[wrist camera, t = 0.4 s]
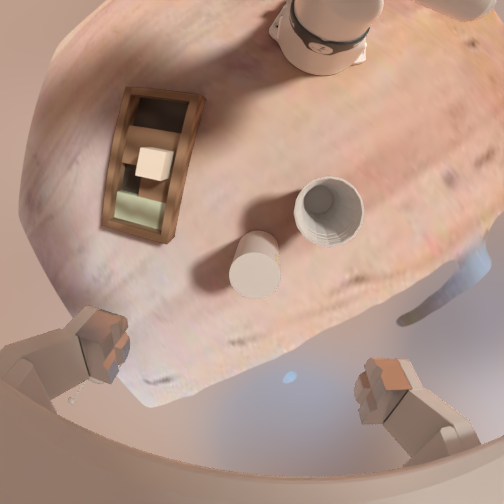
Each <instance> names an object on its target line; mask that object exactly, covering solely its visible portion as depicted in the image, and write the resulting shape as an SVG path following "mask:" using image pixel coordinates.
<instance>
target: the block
mask: <svg viewBox="0 0 504 504" xmlns="http://www.w3.org/2000/svg"><path fill="white" fill-rule="evenodd" d="M175 153H176V152H174V151H169V150H164V149H159V148H153V147H142V148H140V152H139V157H138V162H137V168H136V174H135V175H136V176H140V177H145V178H149V179H154V180H158V181H162V180H165V179H168V178H170V176H171V172H172V167H173V162H174V158H175Z"/></svg>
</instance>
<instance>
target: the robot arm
mask: <svg viewBox="0 0 504 504" xmlns="http://www.w3.org/2000/svg"><path fill="white" fill-rule="evenodd" d="M412 1H414V2H416V3H417V4H420V5H422V6H425V7H427V8H430V9H432V10H434V11H437V12H439V13H441V14H444V15H446V16H448V17H451V18H453V19H455V20H458V21H461V22H468V21H474V20H477V19H480V18H482V17H484V16H486V15H487V14H488V13H489V12H490V11H491V10H492V9H493V7H494V5H495V3H496V1H497V0H412ZM383 6H384V0H286V4H285V5H284V6H283V8H282V10H281V11H280V13H279V14H278V16H277V17H276V19H275V20H274V22H273V23H272V25H271V26H270V28H269V34H270V36H271V37H272V38H273V39H274V40H276V41H277V42H278V44H279V45H280V48H281V50H282V52H283V54H284V56H285V57H286V58H287V59H288V61H289V62H290V63H292V64H293V65H294V66H295V67H297V68H298V69H300V70H302V71H304V72H307V73H310V74H314V75H333V74H336V73H339V72H341V71H343V70H344V69H346V68H347V67H349V66H351V65H357V64H361V63H363V62H364V61H365V59H366V46H367V44H366V36H367V34H368V31H369V29H370V26H371V25H372V24H373V23H374V21H375V20H376V19H377V18H378V17H379V16H380V14H381V13H382V10H383ZM276 26H278V28H276ZM127 328H128V322H127V319H126V318H125V317H124V316H121V315H118V314H114V313H111V312H108V311H105V310H102V309H98V308H96V307H93V306H90V305H89V306H85V307H84V308H83V309H82V310H81V311H80V312H79V313H78V314H77V315H76V316H75V317H74V318H73V319H72V320H71V322H70V323H68V324H67V326H66V327H65V328H64V329H63V330H61V329H56V330H53V331H50V332H47V333H44V334H41V335H37V336H35V337H31V338H28V339H25V340H22V341H18V342H15V343H12V344H9V345H6V346H5V347H4V348H3V349H2V350H1V351H0V504H504V435H503V436H501V437H499V438H497V439H494V440H492V441H490V442H488V443H485V444H483V445H481V443H480V441H479V439H478V437H477V435H476V433H475V430H474V428H473V426H472V424H471V422H470V420H468V419H467V418H466V417H464V416H463V415H461V414H460V413H459V412H457V411H456V410H455V409H453V408H452V407H451V406H449V405H448V404H447V403H445V402H444V401H443V400H441V399H440V398H439V397H437V396H436V395H435V394H433V393H432V392H430V391H429V390H428V389H424V388H423V386H422V384H421V382H420V380H419V378H418V376H417V374H416V372H415V370H414V368H413V366H412V365H411V363H410V361H409V360H408V359H407V358H395V359H390V358H370V359H368V360H367V362H366V364H365V365H364V367H365V372H363V373H362V374H360V375H359V377H358V379H357V381H356V383H355V388H354V395H355V399H356V401H357V402H358V403H359V404H360V405H361V406H360V408H359V409H358V411H359V415H360V419H361V423H362V424H383V426H384V427H385V428H386V429H387V430H388V432H389V433H390V434H391V435H392V436H393V437H394V438H395V440H396V441H397V442H398V443H399V444H400V445H401V446H402V447H403V449H404V450H405V451H406V452H407V453H408V454H409V455H410V456H411V459H409V460H408V461H407V462H406V463H405V464H404V465H403V466H402V468H398V469H393V470H388V471H381V472H373V473H365V474H356V475H344V476H327V477H326V476H324V477H290V476H289V477H288V476H271V475H270V476H269V475H257V474H248V473H239V472H232V471H225V470H219V469H214V468H208V467H203V466H198V465H193V464H189V463H185V462H180V461H176V460H172V459H169V458H165V457H161V456H158V455H154V454H151V453H148V452H145V451H142V450H139V449H136V448H133V447H130V446H127V445H124V444H122V443H119V442H116V441H114V440H111V439H109V438H106V437H104V436H101V435H99V434H97V433H94V432H92V431H90V430H88V429H86V428H83V427H81V426H79V425H77V424H75V423H73V422H71V421H69V420H67V419H65V418H63V417H61V416H59V415H57V412H56V410H55V408H54V406H53V404H52V402H51V400H52V399H54V398H55V397H57V396H59V395H61V394H62V393H64V392H66V391H68V390H70V389H71V388H73V387H75V386H76V385H78V384H80V383H82V382H84V381H85V380H87V379H89V378H90V377H92V378H94V379H97V380H100V381H103V382H106V383H109V384H111V383H112V382H113V380H114V378H115V377H116V375H117V374H118V372H119V369H118V365H120V364H122V363H124V362H125V360H126V358H127V357H128V353H129V350H130V338H129V336H128V335H127V333H126V332H125V331H126V330H127Z"/></svg>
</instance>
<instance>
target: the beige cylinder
mask: <svg viewBox="0 0 504 504" xmlns="http://www.w3.org/2000/svg"><path fill="white" fill-rule="evenodd" d="M229 279H230V283H231V285H232V287H233V288H234V290H235V291H236V292H237V293H239V294H240V295H242V296H244V297H246V298H250V299H261V298H265V297H267V296H269V295H271V294H272V293H273V292H274V291H275V290H276V289H277V287H278V286H279V283H280V279H281V273H280V259H279V247H278V243H277V241H276V240H275V238H274V237H273V236H272V235H271V234H269V233H267V232H265V231H260V230H256V231H251V232H248V233H247V234H245V235H244V236H243V237H242V238H241V239H240V241H239V244H238V246H237V249H236V252H235V255H234V258H233V261H232V264H231V267H230V271H229Z"/></svg>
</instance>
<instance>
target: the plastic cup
mask: <svg viewBox="0 0 504 504" xmlns="http://www.w3.org/2000/svg"><path fill="white" fill-rule="evenodd" d="M364 213H365V212H364V206H363V200H362V198H361V196H360V194H359V193H358V191H357V190H356V188H355V187H354V186H353V185H351V184H350V183H349V182H347V181H346V180H344V179H342V178H337V177H333V176H326V177H321V178H316V179H314V180H313V181H311V182H310V183H308V184H307V185H306V186H304V187H303V189H302V190H301V192H300V193H299V195H298V197H297V198H296V202H295V208H294V216H295V221H296V225H297V228H298V229H299V230H300V232H301V233H302V235H303V236H304V238H306V239H307V240H309V241H310V242H312V243H314V244H315V245H318V246H324V247H329V248H330V247H335V246H339V245H343V244H345V243H346V242H348V241H349V240H351V239H352V238H354V236H355V235H356V234H357V232H358V231H359V229H360V228H361V226H362V222H363V218H364Z"/></svg>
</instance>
